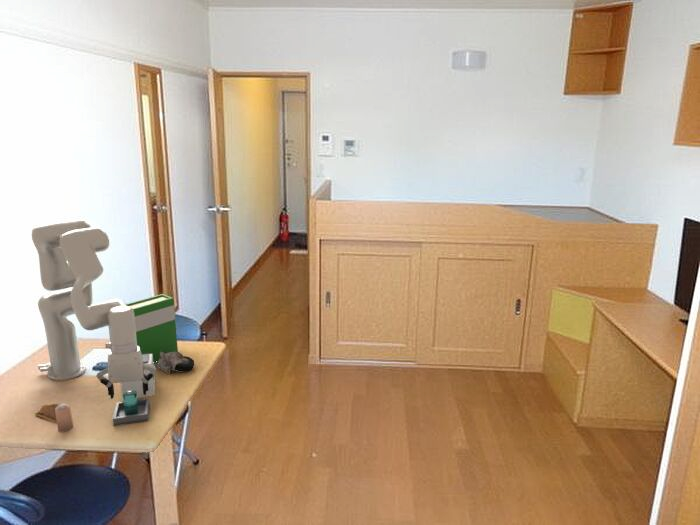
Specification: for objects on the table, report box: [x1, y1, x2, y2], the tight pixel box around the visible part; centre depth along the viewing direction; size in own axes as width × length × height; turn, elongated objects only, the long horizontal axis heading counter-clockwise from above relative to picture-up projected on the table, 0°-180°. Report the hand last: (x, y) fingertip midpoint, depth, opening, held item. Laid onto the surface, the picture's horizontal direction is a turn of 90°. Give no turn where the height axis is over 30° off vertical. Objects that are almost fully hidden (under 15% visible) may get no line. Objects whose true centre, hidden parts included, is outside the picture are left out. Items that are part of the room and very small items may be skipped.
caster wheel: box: [157, 351, 195, 375], centre depth 199 cm, size 7×11×10 cm
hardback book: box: [125, 293, 179, 363], centre depth 204 cm, size 18×7×24 cm, turn 140°
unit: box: [120, 354, 156, 398], centre depth 181 cm, size 11×8×13 cm
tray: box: [112, 397, 151, 427], centre depth 168 cm, size 10×10×2 cm
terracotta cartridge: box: [55, 403, 74, 432], centre depth 160 cm, size 4×4×8 cm
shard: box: [34, 402, 62, 424], centre depth 167 cm, size 11×8×2 cm
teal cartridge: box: [122, 390, 138, 416], centre depth 167 cm, size 4×4×8 cm
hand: (128, 394), depth 167 cm, fingers open, 9 cm apart
